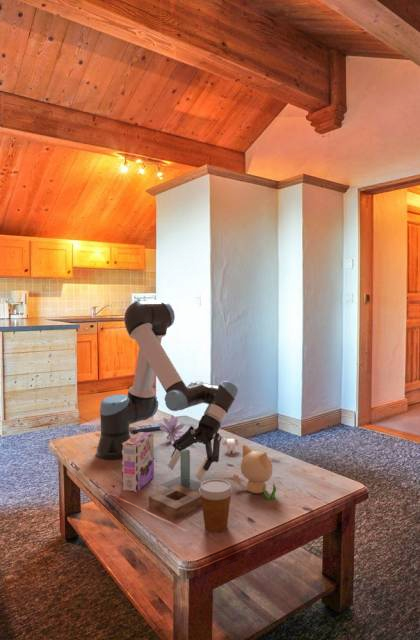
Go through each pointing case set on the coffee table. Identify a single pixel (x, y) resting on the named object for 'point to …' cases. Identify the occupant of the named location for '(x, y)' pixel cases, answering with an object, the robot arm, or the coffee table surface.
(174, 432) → the water lily
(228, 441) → the elephant figurine
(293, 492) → the coffee table surface
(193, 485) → the mat
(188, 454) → the peg
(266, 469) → the kitten
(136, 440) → the candy box
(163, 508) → the hole block
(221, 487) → the disposable coffee cup
